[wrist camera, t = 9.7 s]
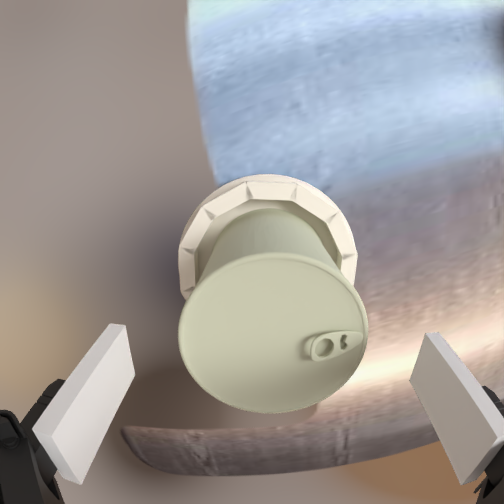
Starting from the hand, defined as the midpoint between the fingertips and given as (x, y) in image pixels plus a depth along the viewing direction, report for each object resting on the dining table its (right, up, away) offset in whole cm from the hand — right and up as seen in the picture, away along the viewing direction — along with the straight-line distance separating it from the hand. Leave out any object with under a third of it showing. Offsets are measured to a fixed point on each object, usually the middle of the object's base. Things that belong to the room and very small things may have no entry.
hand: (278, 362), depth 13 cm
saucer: (0, +4, +13) cm, 14 cm away
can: (0, +3, +13) cm, 13 cm away
